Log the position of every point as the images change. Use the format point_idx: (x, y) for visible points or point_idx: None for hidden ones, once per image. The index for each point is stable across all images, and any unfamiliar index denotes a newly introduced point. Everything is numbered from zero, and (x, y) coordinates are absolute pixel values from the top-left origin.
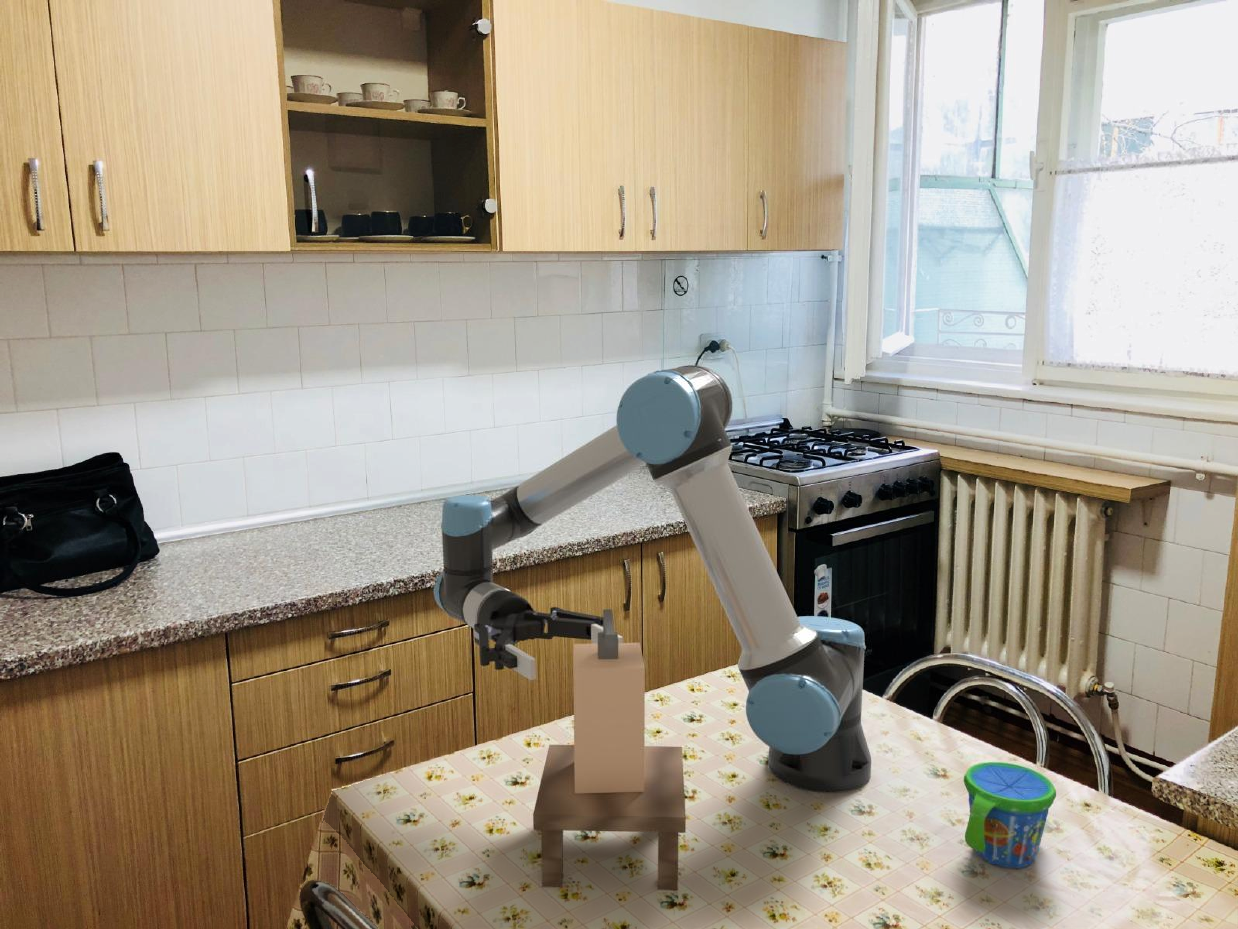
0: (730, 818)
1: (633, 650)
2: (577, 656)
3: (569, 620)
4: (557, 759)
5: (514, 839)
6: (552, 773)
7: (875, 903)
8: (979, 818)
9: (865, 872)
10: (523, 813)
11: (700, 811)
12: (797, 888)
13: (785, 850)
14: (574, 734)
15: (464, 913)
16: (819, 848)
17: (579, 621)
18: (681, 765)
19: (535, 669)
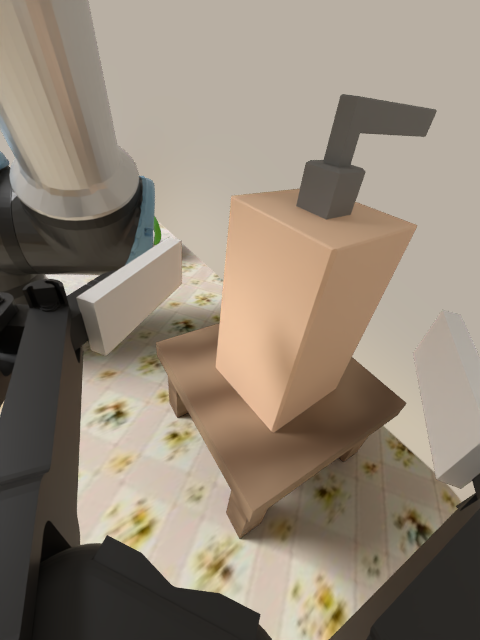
0: (147, 363)
1: (271, 196)
2: (377, 231)
3: (36, 392)
4: (287, 459)
5: (324, 552)
6: (324, 440)
7: (210, 282)
8: (156, 223)
9: (181, 288)
10: (264, 600)
11: (145, 388)
12: (220, 309)
13: (179, 322)
14: (366, 327)
15: (448, 495)
16: (165, 309)
17: (45, 352)
18: (202, 329)
19: (427, 333)
